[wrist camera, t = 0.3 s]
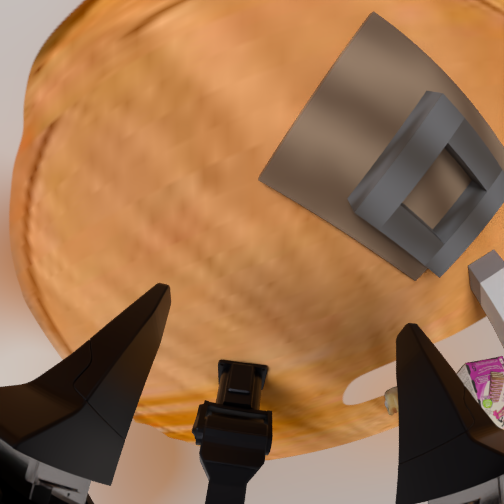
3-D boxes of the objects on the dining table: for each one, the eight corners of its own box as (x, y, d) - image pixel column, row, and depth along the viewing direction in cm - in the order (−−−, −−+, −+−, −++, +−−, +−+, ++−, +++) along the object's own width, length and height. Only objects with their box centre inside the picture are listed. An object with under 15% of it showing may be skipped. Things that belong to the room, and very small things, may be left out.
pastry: (434, 371, 36) (440, 390, 32) (432, 387, 39) (436, 405, 36) (382, 389, 38) (385, 409, 35) (384, 403, 42) (387, 421, 39)
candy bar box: (503, 353, 33) (530, 425, 19) (489, 369, 36) (512, 438, 22) (464, 361, 34) (491, 445, 20) (450, 377, 37) (471, 457, 23)
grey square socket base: (412, 274, 25) (423, 298, 22) (259, 176, 22) (255, 192, 19) (506, 158, 17) (528, 171, 14) (369, 14, 13) (385, 3, 10)
